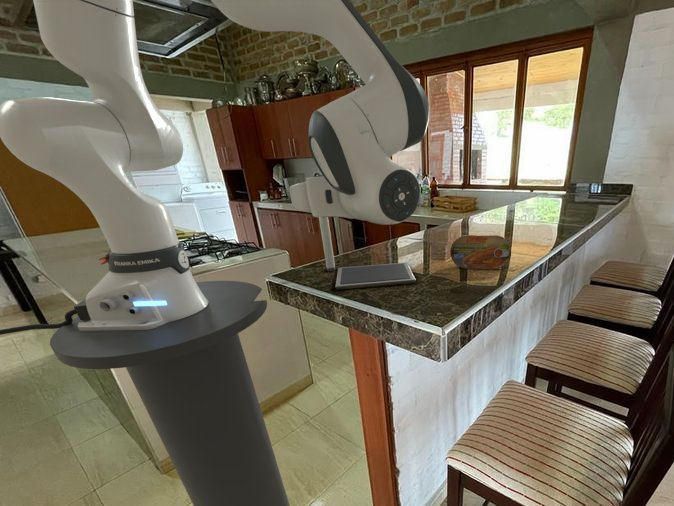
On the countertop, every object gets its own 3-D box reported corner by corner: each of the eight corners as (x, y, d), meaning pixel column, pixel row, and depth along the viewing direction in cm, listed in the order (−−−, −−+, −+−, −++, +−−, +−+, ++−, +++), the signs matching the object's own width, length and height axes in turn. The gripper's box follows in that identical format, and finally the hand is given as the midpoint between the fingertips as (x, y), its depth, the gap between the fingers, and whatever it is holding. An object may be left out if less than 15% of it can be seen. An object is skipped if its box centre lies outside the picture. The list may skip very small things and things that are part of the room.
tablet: (335, 290, 74) (335, 285, 74) (338, 271, 87) (338, 267, 86) (415, 283, 77) (415, 278, 76) (407, 265, 89) (407, 261, 89)
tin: (449, 268, 86) (450, 235, 83) (451, 264, 89) (452, 232, 86) (509, 270, 83) (512, 236, 79) (509, 266, 86) (512, 234, 82)
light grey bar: (326, 271, 87) (318, 216, 81) (327, 268, 89) (318, 214, 83) (335, 270, 87) (327, 215, 81) (335, 268, 89) (328, 214, 83)
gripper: (408, 170, 63) (377, 172, 74) (297, 178, 53) (280, 178, 64) (410, 205, 65) (380, 202, 76) (305, 218, 56) (288, 212, 67)
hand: (334, 191), depth 70 cm, fingers open, 8 cm apart
